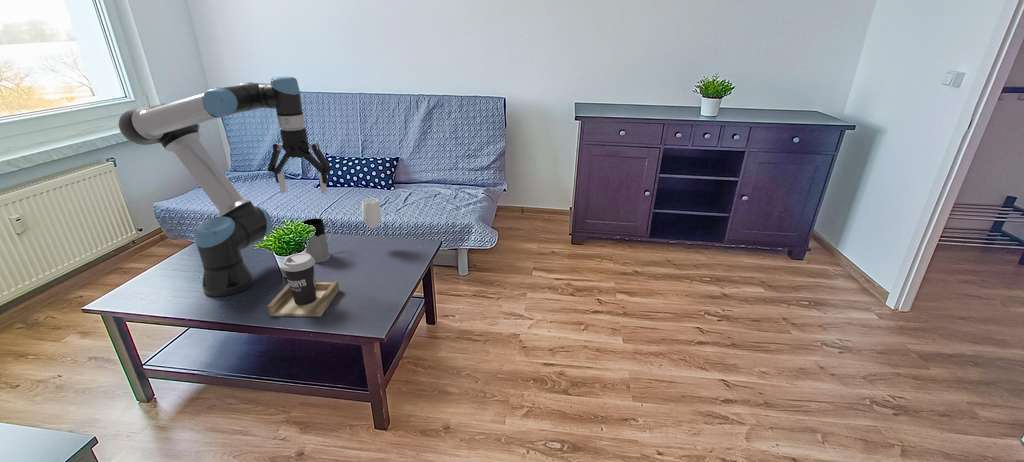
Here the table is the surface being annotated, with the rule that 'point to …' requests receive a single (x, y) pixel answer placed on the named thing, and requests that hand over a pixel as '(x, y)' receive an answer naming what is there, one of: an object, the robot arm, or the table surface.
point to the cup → (371, 212)
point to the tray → (287, 306)
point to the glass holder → (318, 240)
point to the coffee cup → (301, 277)
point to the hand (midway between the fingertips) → (304, 192)
